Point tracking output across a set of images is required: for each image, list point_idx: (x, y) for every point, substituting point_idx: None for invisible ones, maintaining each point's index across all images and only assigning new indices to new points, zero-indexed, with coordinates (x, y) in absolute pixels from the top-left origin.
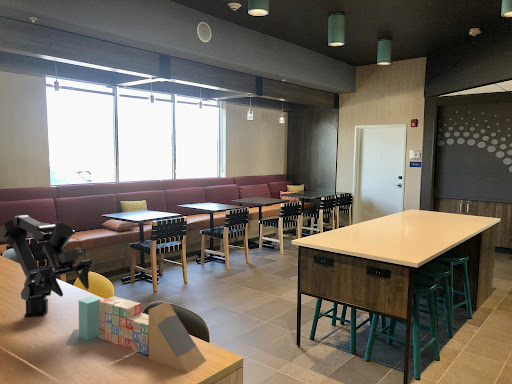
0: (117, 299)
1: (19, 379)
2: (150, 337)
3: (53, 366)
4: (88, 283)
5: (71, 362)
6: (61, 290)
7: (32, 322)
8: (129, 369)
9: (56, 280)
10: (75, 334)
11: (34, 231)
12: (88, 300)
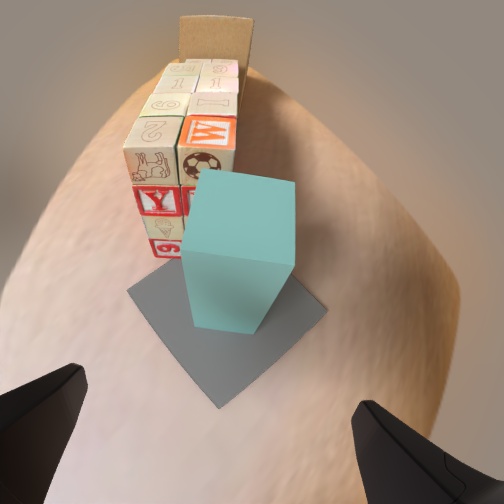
0: (165, 112)
1: (445, 261)
2: (246, 73)
3: (390, 246)
4: (40, 378)
5: (356, 225)
6: (384, 423)
7: None
8: (290, 124)
9: (462, 501)
10: (248, 362)
11: None
12: (255, 208)
